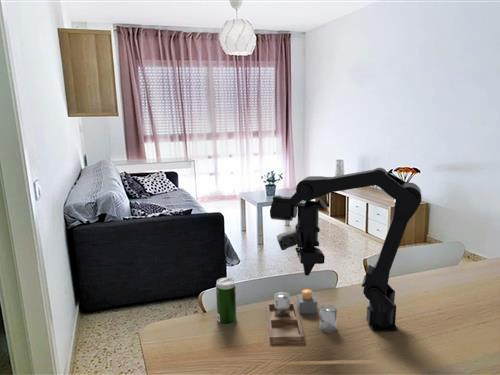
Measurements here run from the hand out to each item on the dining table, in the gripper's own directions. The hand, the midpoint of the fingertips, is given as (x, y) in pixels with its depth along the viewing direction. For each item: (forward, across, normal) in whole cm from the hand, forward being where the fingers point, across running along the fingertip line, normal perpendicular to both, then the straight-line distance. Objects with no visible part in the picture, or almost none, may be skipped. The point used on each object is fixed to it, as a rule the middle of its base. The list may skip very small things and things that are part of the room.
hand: (306, 275), depth 110 cm
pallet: (+11, +8, -7) cm, 15 cm away
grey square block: (+11, 0, 0) cm, 11 cm away
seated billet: (+10, +3, -7) cm, 13 cm away
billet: (+11, +10, +4) cm, 16 cm away
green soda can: (+11, +5, -23) cm, 26 cm away
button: (+7, 0, 0) cm, 7 cm away
